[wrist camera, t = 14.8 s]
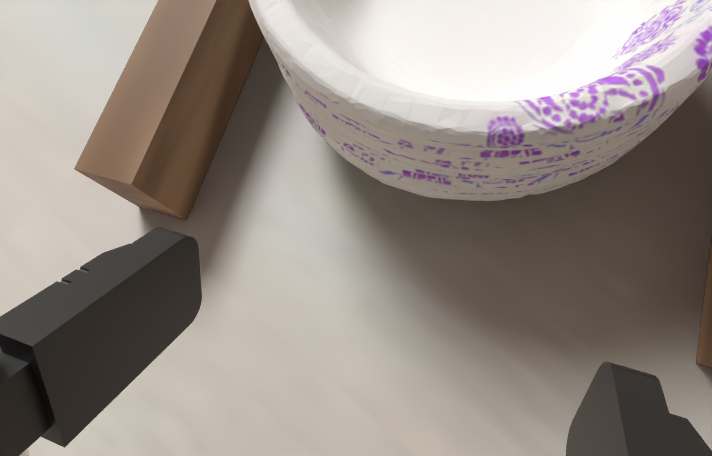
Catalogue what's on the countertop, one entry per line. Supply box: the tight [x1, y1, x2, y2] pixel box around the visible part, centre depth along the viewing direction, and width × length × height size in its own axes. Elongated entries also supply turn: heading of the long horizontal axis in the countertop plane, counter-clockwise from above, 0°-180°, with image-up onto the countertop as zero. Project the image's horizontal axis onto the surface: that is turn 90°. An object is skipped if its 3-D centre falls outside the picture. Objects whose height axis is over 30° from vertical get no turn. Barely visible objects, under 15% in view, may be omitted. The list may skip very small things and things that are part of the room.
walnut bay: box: [74, 0, 712, 368], centre depth 19 cm, size 25×22×4 cm
